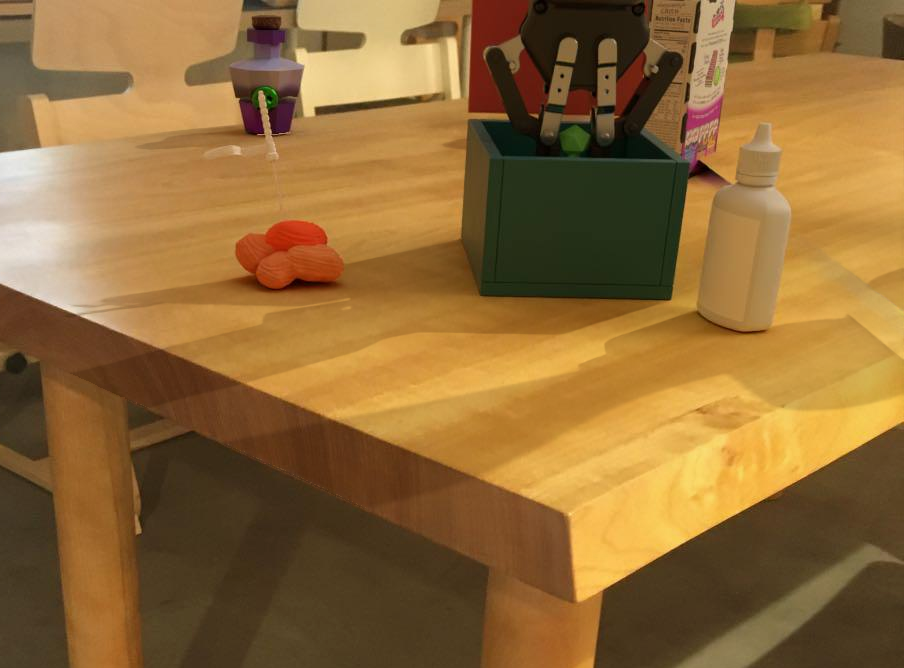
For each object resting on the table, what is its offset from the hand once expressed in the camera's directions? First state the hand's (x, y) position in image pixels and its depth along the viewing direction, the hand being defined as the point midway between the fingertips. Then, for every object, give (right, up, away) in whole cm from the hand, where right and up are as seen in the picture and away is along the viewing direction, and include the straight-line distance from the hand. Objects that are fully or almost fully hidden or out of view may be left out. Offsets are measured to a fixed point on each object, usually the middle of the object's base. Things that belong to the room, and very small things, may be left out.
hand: (568, 198), depth 87 cm
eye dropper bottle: (+9, -10, -7) cm, 15 cm away
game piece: (0, -1, +1) cm, 1 cm away
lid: (0, +16, +4) cm, 16 cm away
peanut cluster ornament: (-20, -6, -2) cm, 21 cm away
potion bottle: (-25, +21, +52) cm, 61 cm away
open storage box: (0, -4, +3) cm, 5 cm away
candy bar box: (+16, +12, +37) cm, 42 cm away
